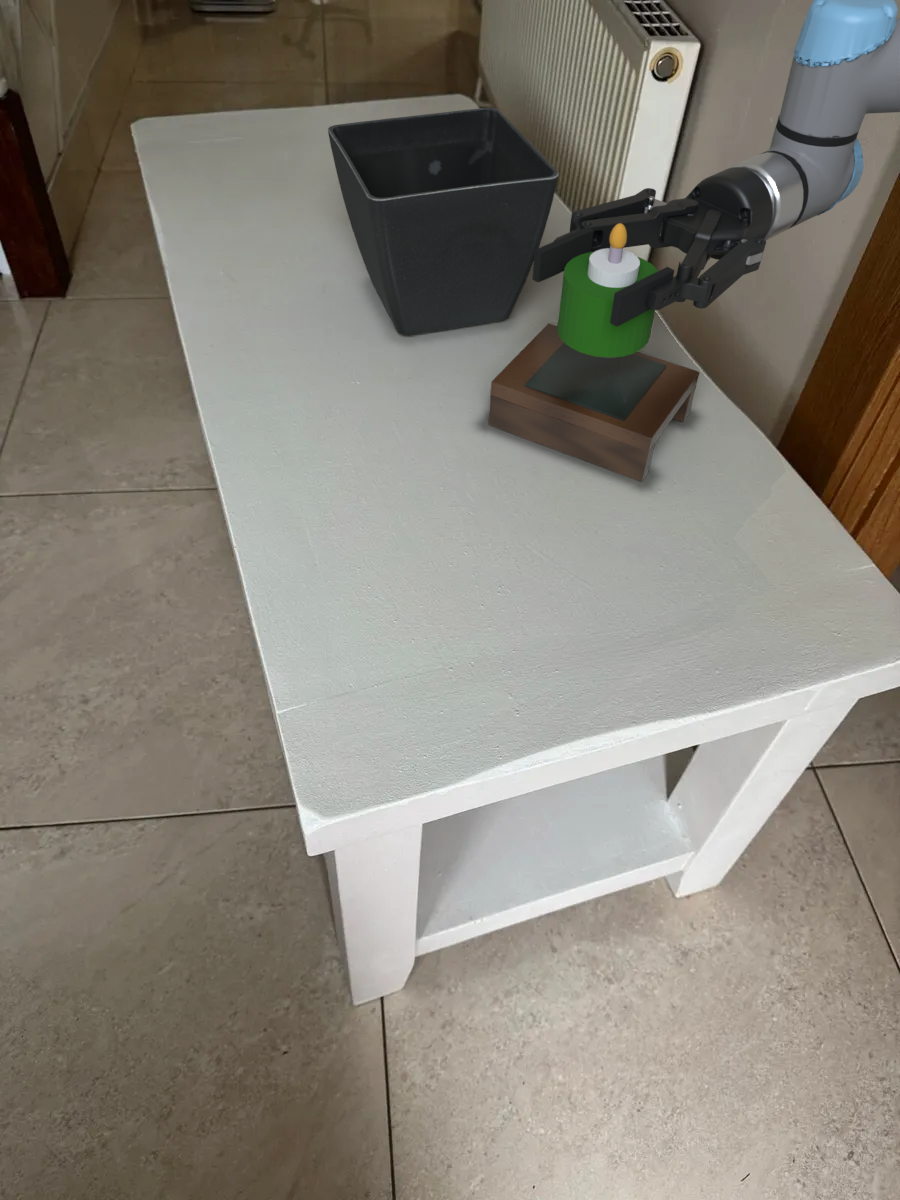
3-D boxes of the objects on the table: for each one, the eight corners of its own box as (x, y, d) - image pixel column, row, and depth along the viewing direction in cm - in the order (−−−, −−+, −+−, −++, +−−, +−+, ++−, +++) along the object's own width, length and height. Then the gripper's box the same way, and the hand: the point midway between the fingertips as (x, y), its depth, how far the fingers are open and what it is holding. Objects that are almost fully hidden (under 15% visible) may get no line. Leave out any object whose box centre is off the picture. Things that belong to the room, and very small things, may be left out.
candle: (665, 326, 84) (688, 219, 77) (621, 368, 80) (641, 258, 72) (586, 297, 88) (601, 191, 80) (539, 336, 83) (551, 227, 76)
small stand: (688, 414, 92) (700, 369, 88) (641, 482, 85) (651, 436, 81) (543, 365, 97) (548, 320, 93) (488, 425, 90) (491, 379, 86)
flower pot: (336, 272, 109) (324, 121, 97) (488, 250, 113) (496, 103, 101) (377, 359, 97) (370, 200, 85) (546, 332, 101) (562, 176, 89)
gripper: (825, 289, 85) (665, 383, 75) (648, 207, 95) (486, 279, 85) (853, 209, 79) (684, 298, 69) (662, 130, 90) (490, 197, 80)
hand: (575, 287), depth 77 cm, fingers closed on candle, 8 cm apart
